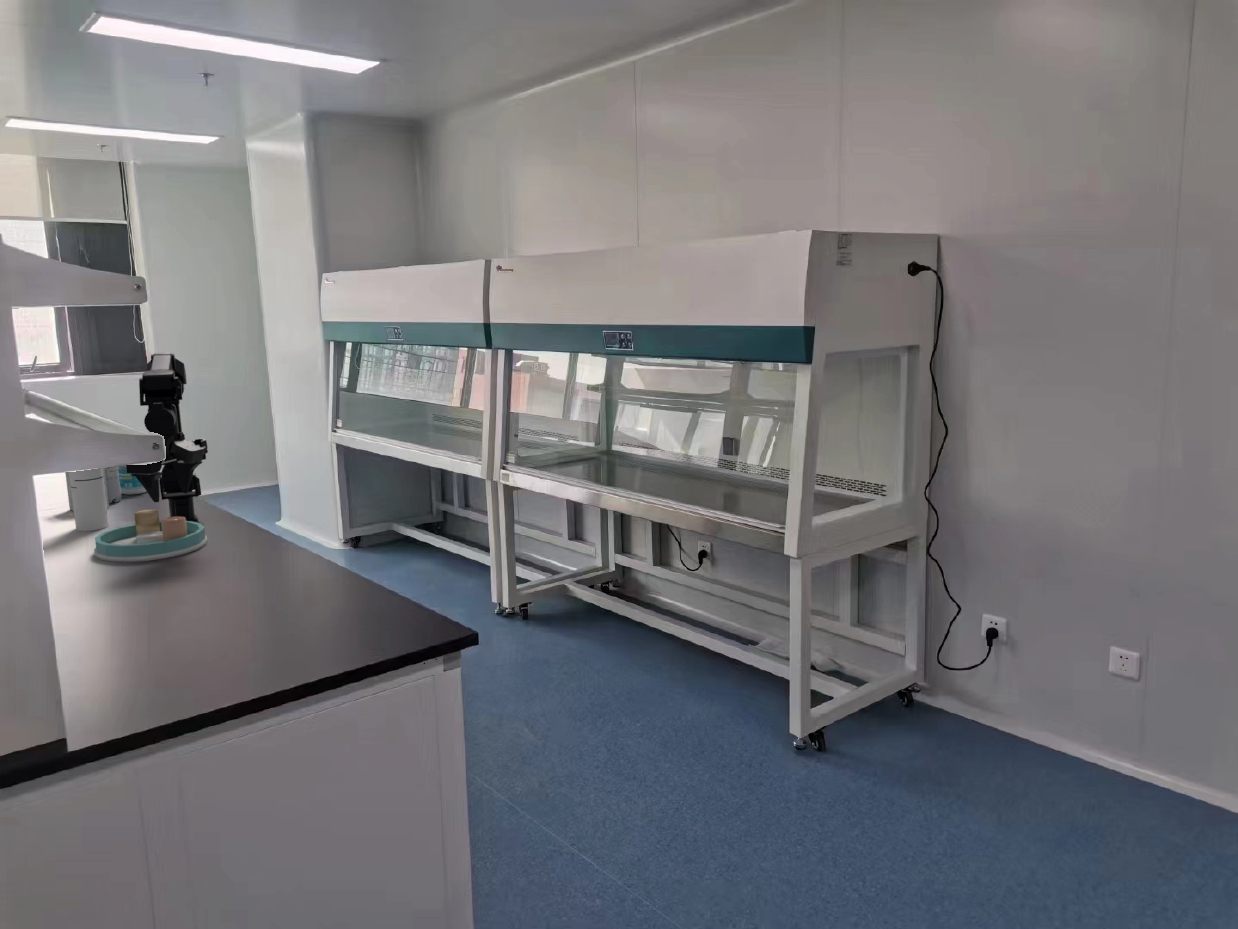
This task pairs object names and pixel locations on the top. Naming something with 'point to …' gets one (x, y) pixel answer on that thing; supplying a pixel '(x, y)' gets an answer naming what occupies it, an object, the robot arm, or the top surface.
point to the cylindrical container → (89, 499)
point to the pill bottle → (129, 482)
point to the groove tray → (146, 544)
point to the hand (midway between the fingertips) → (171, 497)
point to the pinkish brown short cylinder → (173, 528)
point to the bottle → (113, 484)
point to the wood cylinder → (147, 521)
